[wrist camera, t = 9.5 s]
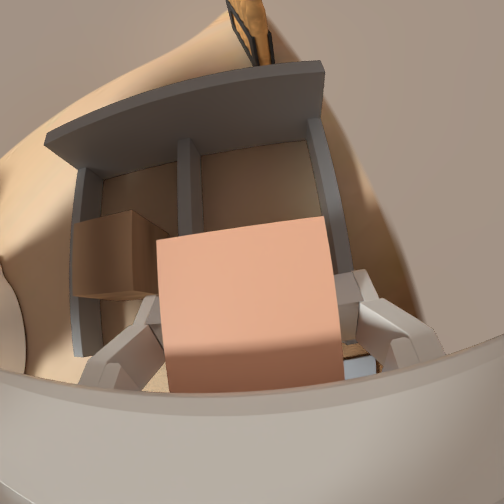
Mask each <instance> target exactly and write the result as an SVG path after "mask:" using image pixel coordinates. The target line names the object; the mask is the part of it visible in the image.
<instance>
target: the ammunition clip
mask: <svg viewBox="0 0 504 504" xmlns="http://www.w3.org/2000/svg"><path fill="white" fill-rule="evenodd" d="M226 4H227V8H228V12H229V16H230V20H231V24H232V28H233V30H234V32H235V34H236V35H237V37H238V39H239V41H240V43H241V44H242V46H243V48H244V50H245V52H246V54H247V55H248V57H249V59H250V61H251V63H252V65H253V67H256V66H263V65H271V64H275V60H274V52H273V44H272V36H271V33H270V31H269V30H268V26H267V19H266V12H265V9H264V6H263V4H262V0H226Z"/></svg>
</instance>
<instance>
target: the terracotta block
mask: <svg viewBox="0 0 504 504" xmlns="http://www.w3.org/2000/svg"><path fill="white" fill-rule="evenodd" d="M156 243H157V270H158V288H159V302H160V315H161V326H162V336H163V345H164V354H165V362H166V370H167V377H168V384H169V391H170V393H226V392H247V391H262V390H274V389H284V388H293V387H301V386H309V385H316V384H323V383H330V382H336V381H342V380H345V374H344V362H343V350H342V340H341V330H340V321H339V313H338V304H337V297H336V289H335V282H334V275H333V268H332V261H331V255H330V249H329V243H328V237H327V231H326V225H325V220H324V216H319V217H311V218H303V219H296V220H288V221H281V222H273V223H266V224H259V225H252V226H245V227H238V228H231V229H224V230H218V231H211V232H205V233H198V234H192V235H185V236H179V237H173V238H167V239H161V240H156Z"/></svg>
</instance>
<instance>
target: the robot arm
mask: <svg viewBox="0 0 504 504" xmlns="http://www.w3.org/2000/svg"><path fill="white" fill-rule="evenodd" d="M333 275H334V282H335V289H336V297H337V304H338V313H339V321H340V330H341V340H342V341H346V340H353V339H356V341H357V342H358V343H359V344H360V345H361V346H362V347H363V348H364V349H366V350H367V351H368V352H369V353H370V354H371V355H372V356H373V357H374V358H375V359H376V360H377V361H378V362H379V363H380V364H382V365H383V369H382V372H381V373H377V374H373V375H368V376H363V377H358V378H353V379H347V380H342V381H336V382H330V383H323V384H316V385H309V386H301V387H293V388H284V389H274V390H262V391H247V392H226V393H167V392H146V391H141V390H142V389H143V388H144V387H145V385H146V384H147V383H148V382H149V381H150V379H151V378H152V377H153V376H154V375H155V373H156V372H157V371H158V370H159V369H160V367H161V366H162V365H163V364H164V362H165V354H164V345H163V336H162V326H161V315H160V302H159V294H158V295H147V296H145V297H144V299H143V301H142V304H141V306H140V308H139V311H138V313H137V315H136V318H135V320H134V323H133V325H129V326H128V327H127V328H126V329H124V330H123V331H122V332H121V333H120V334H118V335H117V336H116V337H115V338H114V339H113V340H111V341H110V342H109V343H108V344H107V345H105V346H104V347H103V348H102V349H101V350H100V351H98V352H97V353H96V354H95V355H94V356H93V357H91V358H90V359H89V360H88V362H87V364H86V366H85V369H84V371H83V373H82V376H81V378H80V380H79V383H78V384H72V383H66V382H61V381H55V380H50V379H45V378H40V377H35V376H31V375H26V374H24V370H25V361H26V343H25V332H24V325H23V319H22V315H21V311H20V307H19V304H18V301H17V298H16V296H15V293H14V291H13V289H12V287H11V286H10V284H9V283H8V282H7V280H6V279H5V277H4V276H3V272H2V268H1V265H0V504H504V334H502V335H500V336H497V337H495V338H492V339H490V340H488V341H485V342H483V343H480V344H477V345H474V346H472V347H469V348H466V349H463V350H460V351H457V352H454V353H451V354H448V355H446V354H445V352H444V350H443V348H442V346H441V344H440V342H439V339H438V337H437V336H436V333H435V331H434V329H433V328H431V327H429V326H428V325H426V324H425V323H423V322H421V321H420V320H418V319H417V318H415V317H413V316H412V315H410V314H409V313H407V312H405V311H404V310H402V309H400V308H399V307H397V306H396V305H394V304H392V303H391V302H389V301H387V300H386V299H384V298H380V299H379V297H378V294H377V292H376V290H375V288H374V286H373V284H372V281H371V279H370V277H369V275H368V273H367V271H366V270H365V269H361V270H355V271H351V272H345V273H339V274H333Z"/></svg>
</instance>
